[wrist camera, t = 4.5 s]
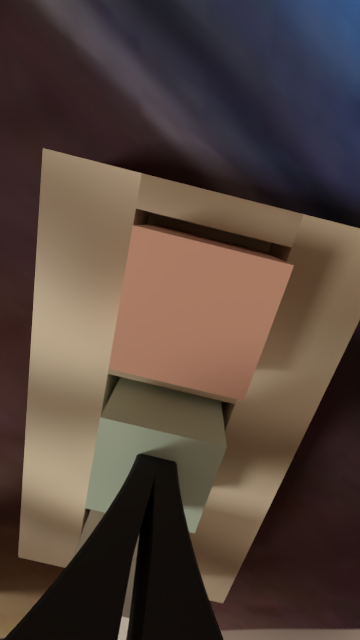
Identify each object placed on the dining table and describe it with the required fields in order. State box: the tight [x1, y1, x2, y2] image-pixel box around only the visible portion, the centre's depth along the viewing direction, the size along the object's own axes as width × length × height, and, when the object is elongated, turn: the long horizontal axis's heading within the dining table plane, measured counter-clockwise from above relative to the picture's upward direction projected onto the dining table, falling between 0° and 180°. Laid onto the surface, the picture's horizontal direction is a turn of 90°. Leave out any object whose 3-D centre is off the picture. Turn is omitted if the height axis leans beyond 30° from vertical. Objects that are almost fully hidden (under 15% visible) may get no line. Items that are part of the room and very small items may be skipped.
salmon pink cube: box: [109, 225, 294, 401], centre depth 10 cm, size 4×4×4 cm
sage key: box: [85, 377, 227, 533], centre depth 12 cm, size 4×4×4 cm
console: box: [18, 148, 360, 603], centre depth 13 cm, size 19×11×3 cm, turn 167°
